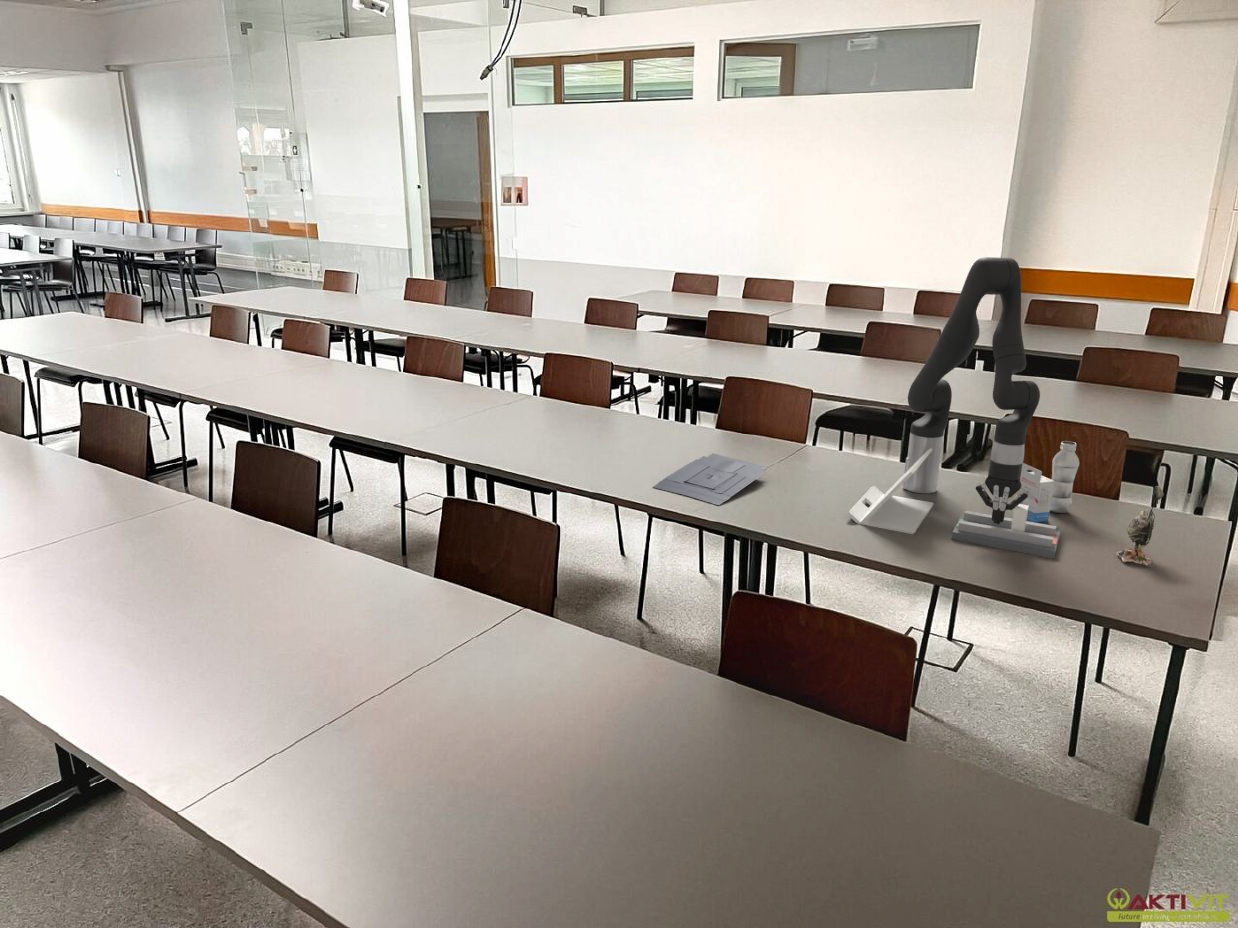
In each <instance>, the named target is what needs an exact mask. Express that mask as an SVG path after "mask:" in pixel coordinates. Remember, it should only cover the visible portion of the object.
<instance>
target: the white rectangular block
mask: <svg viewBox="0 0 1238 928" xmlns="http://www.w3.org/2000/svg"><path fill="white" fill-rule="evenodd" d="M1028 508H1029V505H1023V504H1019V505H1017V506H1016V507H1015V508H1014V509H1013V511H1012V512H1013V514H1012V518H1011V519H1012V525H1011V530H1017V531H1023V532H1025V527H1026V521H1028V520H1027V515H1028Z"/></svg>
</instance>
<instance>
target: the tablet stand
mask: <svg viewBox="0 0 1238 928" xmlns="http://www.w3.org/2000/svg"><path fill="white" fill-rule="evenodd" d="M931 451H932V449H931V448H930V449H929V450H928V451H927V452H926V453H925V454H924V455H923V456H922V457H921V458H920V459H919V460H918V461H917V462H916V463H915V464H914V465H913V466H912V467H911V468H910V469H909V470H908V471H907V472H906V473H905V474H904V473H903V475H901V477H899V479H898V480H897V481H896V482H895V483H894V484H893V485H892V486H891V487H890V488H889V489H888V490H887V491H886V492H885V493H883V492H882V491H881V490H880V489H879V488H878V487H876V485H872V486H871V487H870V488H868V490H867V491H866V492H865V493H864V494H863V495H862V496H861V497H860V499H859V500H857V502H855V504H854V505H853V506H852V507H851V508H850V510H849V511H848V512H846V515H847V516H848V517H849V518H850V519H851V520H852V521H854V522H855V523H856V524H858V525H864V526H870V527H874V528H878V529H879V528H880V529H883V530H884V529H885V530H889V531H895V532H900V533H904V534H909V535H910V534H911V535H914V534H915V533H916V531H917V530H918V529H919V527H920V526H921V524H922V523H923V522H924V520H925V518H926V517H927V515H928V514H929V512H931V510H932V508H933V507H934V502H931V501H927V500H926V501H925V500H920V499H914V498H908V497H903V496H902V497H901V496H897V495H894V493H895V492H896V491H898V489H900V487H902V486H903V483H904V482H905V481H906V480H907V479H908V478H909V477H910V476H911V475H912V474H913V473H914V472H915V471H916V470H917V468H918V467H919V466H920V465H921V463H922V462H923V461H924V460H925V459H926V457H927V456H928V455H929V454H930V453H931ZM863 501H864V502H866V503H867V504H868V505H869V507H868V506H866V505H865V503H863Z"/></svg>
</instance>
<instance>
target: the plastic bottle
mask: <svg viewBox="0 0 1238 928" xmlns="http://www.w3.org/2000/svg"><path fill="white" fill-rule="evenodd" d="M1059 449H1060V450H1059V451H1058V452H1057V453H1056V454H1055V455H1054V457H1053V458H1052V461H1051V462H1052V469H1051V471H1052V472H1051V473H1052V474H1051V478H1050V479H1051V480H1053V481H1055V482H1054V488H1053V494H1052V500H1051V506H1050V512H1053V513H1058V514H1065V513H1066V514H1067V513H1068V512H1069V511H1071V507H1072V506H1073V497H1072V496H1073V486H1074V481H1075V477H1076V476H1077V475H1076V474H1077V471H1078V469H1079V467H1080V459H1079V457H1078V455H1077V454H1076V451H1077V443H1076V442H1074V441H1070V440H1069V441H1068V440H1063V441H1061V443H1060V446H1059Z"/></svg>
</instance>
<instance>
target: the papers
mask: <svg viewBox="0 0 1238 928" xmlns="http://www.w3.org/2000/svg"><path fill="white" fill-rule="evenodd" d="M768 467H769V466H768V465H764V464H760V463H755V462H751V461H747V460H746V461H745V460H741V459H738V458H735V457H734V458H733V457H729V456H725V455H721V454H717V453H711V454H709V455H708V456H705V455H703V456H702V457H700V458H698V459H695V460H693V461H691V462H689V463H687V464H685V465H684V466H682V467H681V468H679V469H677V470H676V471H674V472H672V473H670V474H669V475H667V476H666V477H664V478H663V479H662V480H660V481H658V483H656V484H655V485H653V486H652V488H655V489H659V490H663V491H666V492H671V493H675V494H680V495H683V496H687V497H690V498H694V499H697V500H700V501H703V502H706V503H710V504H712V505H713V504H714V505H717V506H721V505H722V504H723V503H725V502H727V501H728V500H730V499H731V498H732V497H733V496H735V495H736V494H737V493H738V492H740V491H741V490H743V489H744V488H746V487H747V486H748V485H750V484H751V483H753V482H754V481H756V480H757V479H759V478H760V477H761V476H763V474H764V473H765V472H766V470H765V469H767V468H768Z"/></svg>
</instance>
